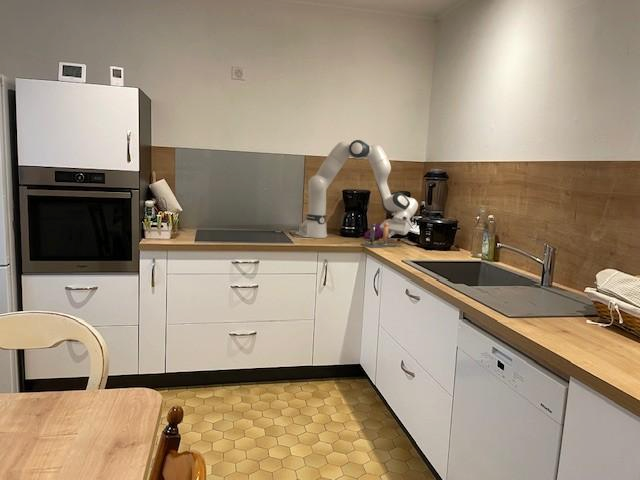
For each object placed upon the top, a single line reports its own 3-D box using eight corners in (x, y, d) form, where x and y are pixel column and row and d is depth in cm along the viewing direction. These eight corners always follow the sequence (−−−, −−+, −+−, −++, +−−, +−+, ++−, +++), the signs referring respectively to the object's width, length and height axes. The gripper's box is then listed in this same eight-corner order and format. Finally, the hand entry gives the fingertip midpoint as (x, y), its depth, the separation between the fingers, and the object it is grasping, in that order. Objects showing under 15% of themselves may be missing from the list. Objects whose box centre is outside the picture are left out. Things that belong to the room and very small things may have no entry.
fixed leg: (365, 243, 278) (366, 222, 277) (369, 242, 280) (370, 221, 278) (371, 244, 274) (373, 223, 272) (375, 244, 276) (377, 223, 274)
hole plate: (360, 245, 279) (361, 241, 279) (383, 243, 291) (384, 239, 291) (372, 248, 272) (372, 243, 271) (395, 246, 283) (396, 242, 283)
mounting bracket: (375, 249, 307) (391, 235, 318) (373, 237, 304) (389, 224, 314) (364, 246, 314) (380, 233, 324) (361, 235, 310) (377, 222, 321)
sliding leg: (378, 241, 285) (379, 221, 283) (381, 241, 287) (383, 221, 285) (384, 243, 281) (386, 222, 279) (388, 242, 282) (389, 222, 281)
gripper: (385, 214, 294) (372, 230, 290) (410, 218, 278) (397, 235, 274) (390, 221, 298) (377, 237, 293) (414, 226, 282) (402, 243, 277)
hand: (387, 236), depth 283 cm, fingers closed
